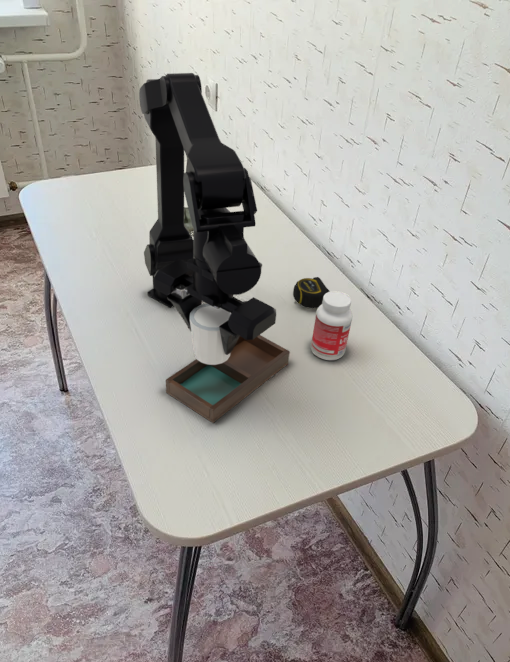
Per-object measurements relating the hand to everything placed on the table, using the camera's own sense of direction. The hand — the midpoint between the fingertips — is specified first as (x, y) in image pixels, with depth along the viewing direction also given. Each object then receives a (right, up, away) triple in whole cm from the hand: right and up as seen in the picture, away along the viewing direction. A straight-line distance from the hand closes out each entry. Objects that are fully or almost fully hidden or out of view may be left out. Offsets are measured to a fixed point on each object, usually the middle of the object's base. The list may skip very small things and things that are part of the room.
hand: (212, 344), depth 94 cm
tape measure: (+18, +10, +28) cm, 34 cm away
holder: (+2, -5, +9) cm, 11 cm away
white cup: (0, -1, +1) cm, 2 cm away
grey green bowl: (-9, +30, +47) cm, 56 cm away
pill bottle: (+19, 0, +16) cm, 25 cm away
